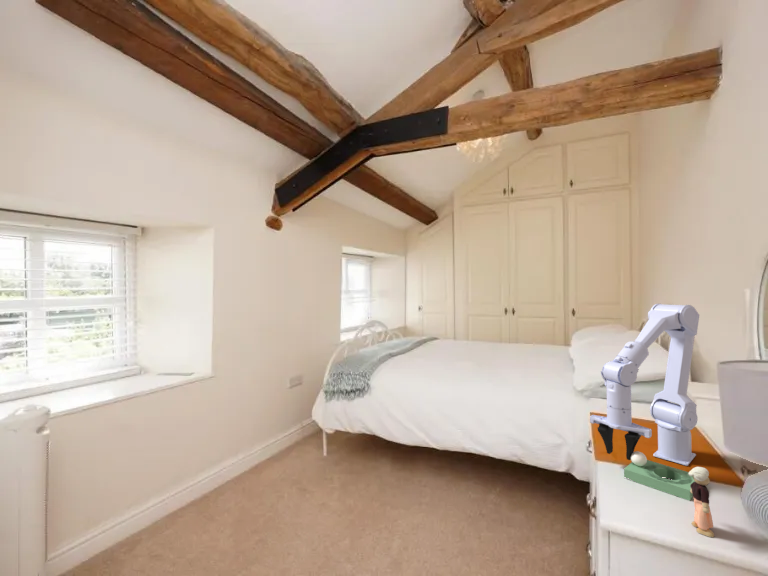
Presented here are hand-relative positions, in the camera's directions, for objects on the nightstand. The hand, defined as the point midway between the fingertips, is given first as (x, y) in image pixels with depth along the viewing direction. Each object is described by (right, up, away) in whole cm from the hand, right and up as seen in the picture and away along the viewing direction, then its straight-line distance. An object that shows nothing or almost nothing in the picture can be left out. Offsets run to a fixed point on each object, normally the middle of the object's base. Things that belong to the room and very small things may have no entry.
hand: (619, 455), depth 102 cm
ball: (+3, +1, -3) cm, 5 cm away
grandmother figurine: (+1, -4, -25) cm, 25 cm away
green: (+6, -3, -7) cm, 9 cm away
